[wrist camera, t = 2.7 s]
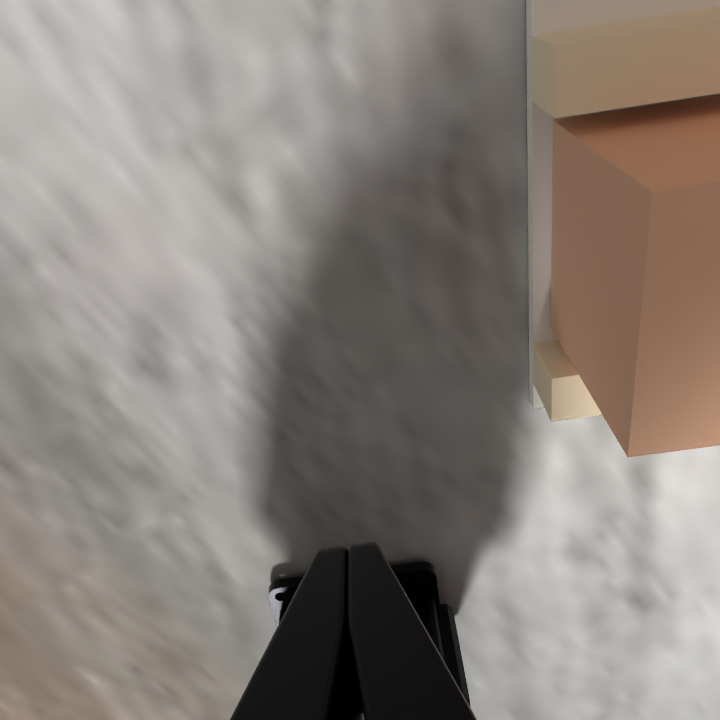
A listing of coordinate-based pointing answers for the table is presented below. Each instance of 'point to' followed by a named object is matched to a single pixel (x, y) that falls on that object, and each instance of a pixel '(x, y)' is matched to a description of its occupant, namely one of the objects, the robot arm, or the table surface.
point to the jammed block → (641, 268)
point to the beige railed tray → (593, 96)
